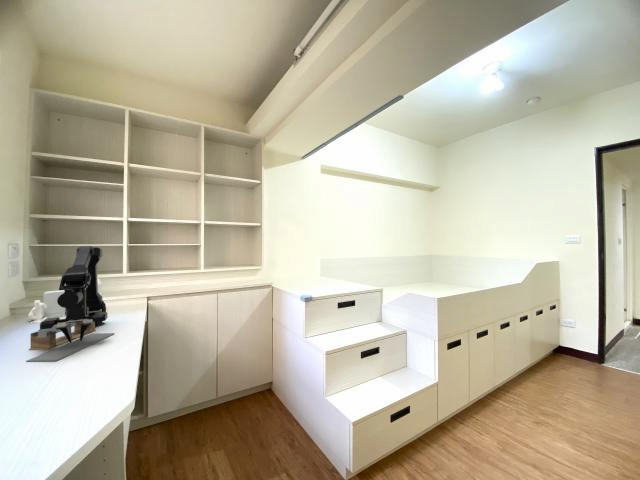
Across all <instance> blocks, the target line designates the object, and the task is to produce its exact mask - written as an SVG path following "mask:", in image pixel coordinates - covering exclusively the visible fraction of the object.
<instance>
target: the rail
mask: <svg viewBox="0 0 640 480" xmlns="http://www.w3.org/2000/svg"><path fill="white" fill-rule="evenodd" d="M87 316H88V315H87ZM78 320H79V319H78ZM69 321H71V320H69ZM81 323H83V321H82V322H74V323H71V328H73V327H74V326H76V325H78V324H81ZM56 328H57V325H54V326H53V327H52V328H49V329H42V330H41V329H40V328H39V329H38V330H37V331H38V338H45V337H47V333H49V332H52V331H56V334H58V333H62V331H61V330H60V329H58V330H57V329H56Z"/></svg>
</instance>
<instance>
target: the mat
mask: <svg viewBox="0 0 640 480" xmlns="http://www.w3.org/2000/svg"><path fill="white" fill-rule="evenodd" d="M114 335H115V333H114V332H107V333H106V332H103V333H101V332H100V333H99V332H97V333H96V332H92V333H90V334H87V335H85V336H84V337H83V339H82V341H80V338H77V339H75V340H73V341H72V342H71V343H70V342H68V343H65V344H63V345H60V346H58V347H55V348H53V349H50V350H47V351H46V352H44V353H41V354H39V355H37V356H34V357H31V358H29V359H27V360H25V362H26V363H55V362H56V363H57V362H58V361H61V360H63V359H65V358H68V357H69V356H71V355H74V354H75V353H78V352H79V351H81V350H85V349H86V348H89V347H91V346H93V345H95V344H97V343H99V342H101V341H103V340H105V339H108V338H110V337H112V336H114Z"/></svg>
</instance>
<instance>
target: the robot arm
mask: <svg viewBox="0 0 640 480" xmlns="http://www.w3.org/2000/svg"><path fill="white" fill-rule="evenodd" d="M102 257H103V248H100V247H98V246H97V247H96V246H92V245H91V246H90V245H88V246H87V245H86V246H85V245H84V246H83V245H82V246H77V248H76V256H75V259H74V262H73V264H72V266H71V267H68V268H67V269H66V270H65V272H64V274H63V275H61V279H60V284H59V288H58V290H65V292H64V293H63V294H62V295H60V296H59V297H58V299H57V303H58V305H59V306H61V307H63V308H66V310H65V315H66V316H65V318H61V317H55V318H47V319H45V320H44V321H41V322H39V330H40V329H41V330H42V329H49V328H52V327H53V326H54V325H57V328H56V329H57V330H58V329H60V330H61V333H62V334H63V336H64V335H65V336H66V338H67V339H68V341H69V342H68V343H71V342H72V327H71V323H74V322H82V321H83V324H82V325H81V332H80V338H79V339H80V341H82V339H83V337H84V334H85V332H86V330H87V328H88V326H89V325H91V324H92V323H93V322H95V328H98V327H99V326H102V325H104V324H106V320H107V319H108V318H109V316H108V312H107V306H106V303H105V301H104V300H103V299H104V298H103V296H102V295H100V294H99V293H98V280H97V277H98V275H97V274H98V263H99V262H100V260H101V259H102ZM87 315H88V316H87ZM78 319H79V320H78ZM69 320H71V321H69Z"/></svg>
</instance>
